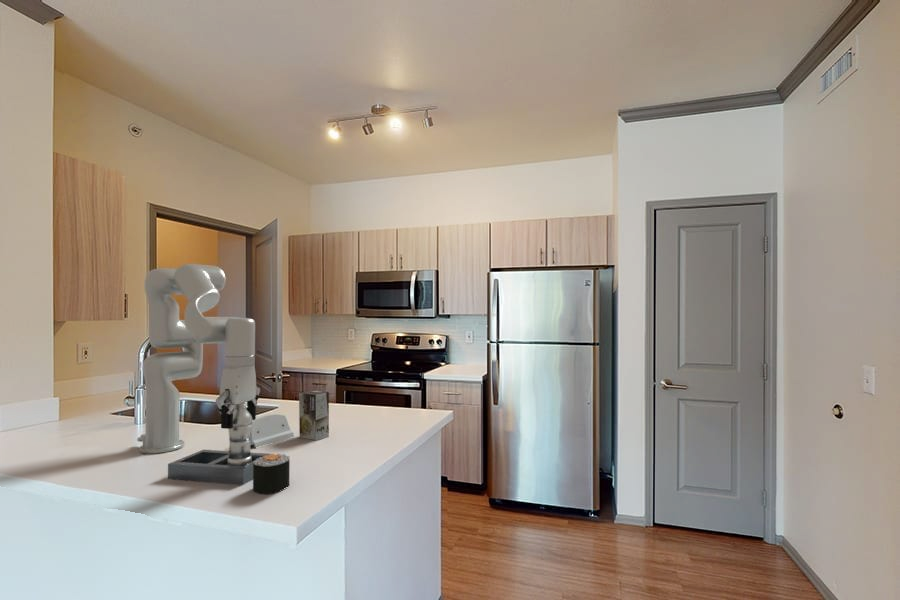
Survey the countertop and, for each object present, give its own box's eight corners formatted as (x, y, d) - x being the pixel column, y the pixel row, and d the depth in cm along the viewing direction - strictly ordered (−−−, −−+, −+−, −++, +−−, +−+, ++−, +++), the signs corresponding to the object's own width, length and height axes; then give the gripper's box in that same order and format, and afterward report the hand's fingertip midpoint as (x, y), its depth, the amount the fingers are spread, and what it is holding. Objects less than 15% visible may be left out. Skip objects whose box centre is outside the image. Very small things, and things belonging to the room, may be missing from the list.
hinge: (255, 448, 148) (248, 419, 150) (246, 451, 150) (239, 422, 152) (295, 436, 163) (288, 409, 165) (286, 439, 165) (280, 412, 167)
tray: (167, 478, 122) (168, 463, 122) (203, 463, 134) (203, 449, 134) (243, 484, 117) (243, 469, 117) (272, 467, 130) (272, 453, 130)
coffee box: (329, 436, 163) (329, 391, 163) (315, 440, 157) (315, 394, 158) (312, 433, 168) (312, 389, 168) (298, 437, 162) (298, 392, 163)
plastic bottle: (246, 468, 130) (247, 398, 130) (256, 473, 125) (257, 401, 126) (222, 473, 125) (223, 401, 126) (231, 480, 120) (232, 404, 121)
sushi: (246, 491, 113) (246, 459, 113) (272, 480, 120) (272, 450, 120) (270, 496, 109) (271, 463, 110) (295, 484, 117) (295, 453, 117)
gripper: (247, 358, 135) (246, 415, 134) (205, 365, 118) (204, 431, 117) (270, 359, 133) (269, 417, 133) (230, 366, 116) (229, 432, 116)
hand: (238, 423), depth 125 cm, fingers open, 9 cm apart
